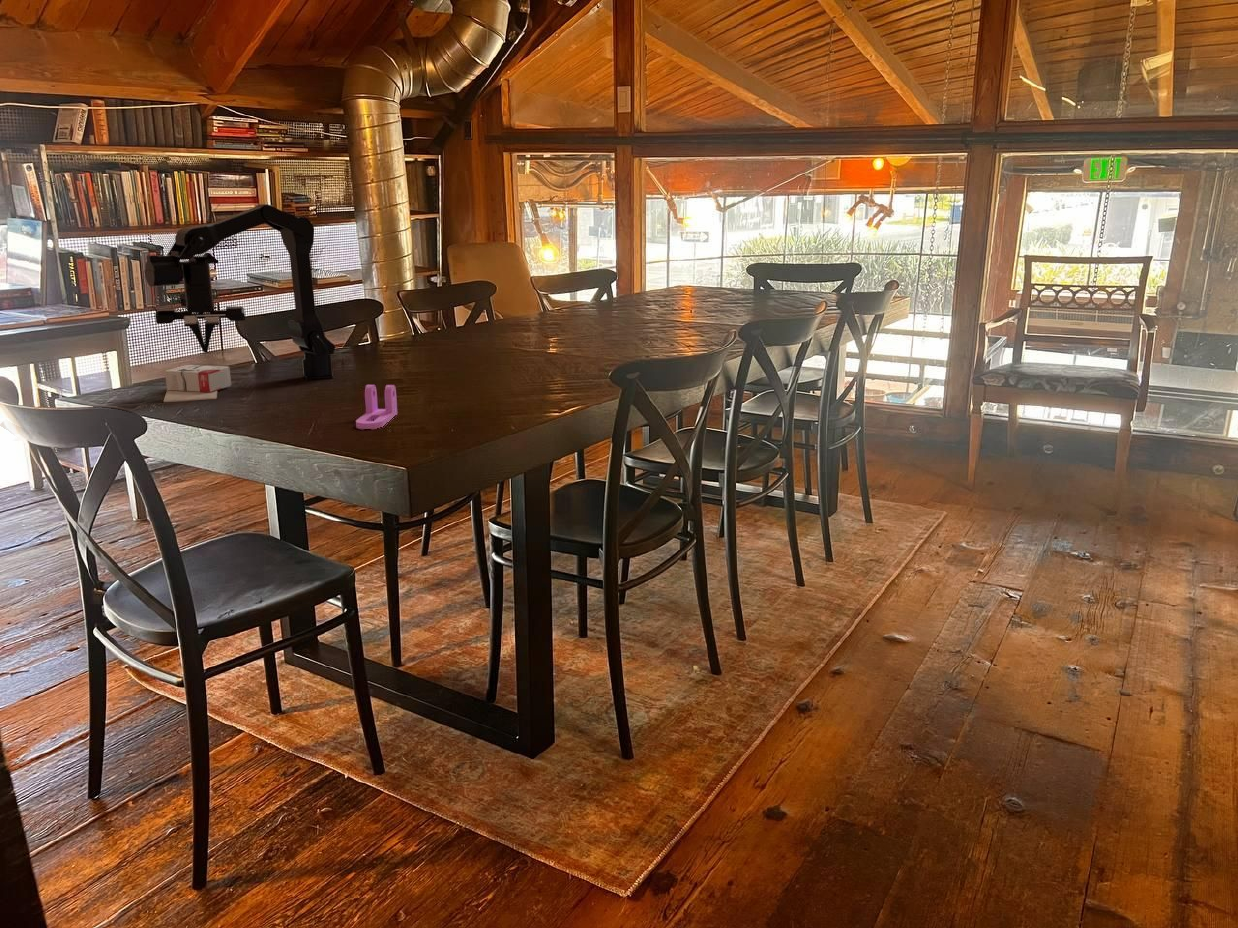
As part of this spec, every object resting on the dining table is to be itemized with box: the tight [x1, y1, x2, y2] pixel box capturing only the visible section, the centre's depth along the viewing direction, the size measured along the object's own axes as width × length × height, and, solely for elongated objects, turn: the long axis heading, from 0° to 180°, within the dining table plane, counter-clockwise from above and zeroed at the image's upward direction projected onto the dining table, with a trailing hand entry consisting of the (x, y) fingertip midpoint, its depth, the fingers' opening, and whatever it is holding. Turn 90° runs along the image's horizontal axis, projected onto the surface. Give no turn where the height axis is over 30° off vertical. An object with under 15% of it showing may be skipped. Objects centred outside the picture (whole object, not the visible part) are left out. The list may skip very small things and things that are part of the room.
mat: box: [163, 389, 218, 403], centre depth 218 cm, size 11×16×1 cm
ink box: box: [164, 364, 232, 392], centre depth 222 cm, size 9×5×12 cm
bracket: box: [355, 384, 398, 430], centre depth 192 cm, size 13×6×7 cm, turn 178°
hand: (205, 352), depth 216 cm, fingers closed
